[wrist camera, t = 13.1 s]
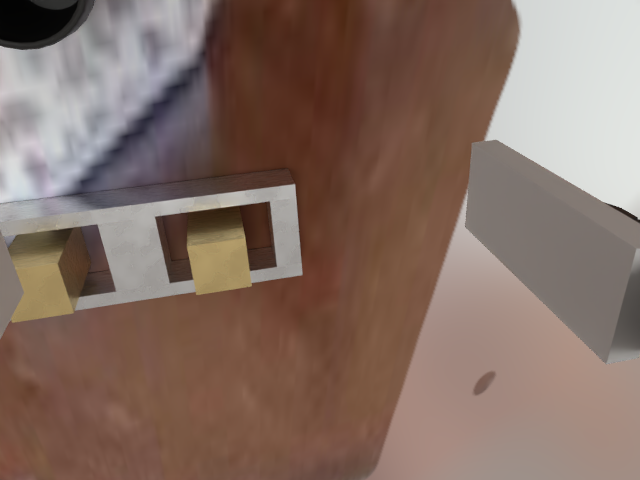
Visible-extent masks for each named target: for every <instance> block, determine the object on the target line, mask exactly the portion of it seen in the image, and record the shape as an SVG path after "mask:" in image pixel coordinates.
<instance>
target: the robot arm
mask: <svg viewBox="0 0 640 480" xmlns="http://www.w3.org/2000/svg"><path fill="white" fill-rule="evenodd" d="M465 227H466V228H467V229H468V230H469V231H470V232H471V233H472V234H473V235H474V236H475V237H476V238H477V239H478V240H479V241H480V242H481V243H482V244H483V245H484V246H485V247H486V248H487V249H488V250H489V251H490V252H491V253H492V254H493V255H495V256H496V257H497V258H498V259H499V260H500V261H501V262H502V263H503V264H504V265H505V266H506V267H507V268H508V269H509V270H510V271H511V272H512V273H513V274H514V275H515V276H516V277H517V278H518V279H519V280H520V281H521V282H522V283H523V284H524V285H525V286H526V287H527V288H528V289H529V290H530V291H532V293H534V294H535V295H536V296H537V297H538V298H539V299H540V300H541V301H542V302H543V303H544V304H545V305H546V306H547V307H548V308H549V309H550V310H551V311H552V312H553V313H554V314H555V315H556V316H557V317H558V318H559V319H560V320H561V321H562V322H563V323H564V324H565V325H566V326H568V328H570V329H571V330H572V331H573V332H574V333H575V334H576V335H577V336H578V337H579V338H580V339H581V340H582V341H583V342H584V343H585V344H586V345H587V346H588V347H589V348H590V349H591V350H592V351H593V352H594V353H595V354H596V355H597V356H598V357H599V358H600V359H602V361H603V362H605V364H610V363H615V362H620V361H625V360H630V359H635V358H639V355H640V220H638V218H637V217H636V216H634V215H632V214H631V213H629V212H627V211H625V210H623V209H622V208H619V207H616V206H613V205H610V204H607V203H604V202H602V201H600V200H599V199H597V198H595V197H593V196H591V195H590V194H588V193H587V192H585V191H583V190H581V189H580V188H578V187H576V186H575V185H573V184H571V183H569V182H568V181H566V180H564V179H563V178H561V177H559V176H557V175H556V174H554V173H552V172H551V171H549V170H547V169H545V168H544V167H542V166H540V165H538V164H537V163H535V162H534V161H532V160H530V159H528V158H527V157H525V156H523V155H521V154H520V153H518V152H516V151H515V150H513V149H511V148H510V147H508V146H506V145H504V144H503V143H501V142H499V141H497V140H492V141H483V142H475V143H472V152H471V164H470V175H469V187H468V199H467V211H466V223H465ZM23 294H24V291H23V288H22V285H21V283H20V280H19V278H18V275H17V272H16V270H15V267H14V264H13V262H12V259H11V256H10V254H9V251H8V249H7V246H6V243H5V241H4V238H3V235H2V233H1V230H0V339H1V337H2V335H3V333H4V331H5V329H6V327H7V325H8V323H9V321H10V319H11V317H12V315H13V313H14V312H15V310H16V308H17V306H18V304H19V302H20V300H21V298H22V296H23Z"/></svg>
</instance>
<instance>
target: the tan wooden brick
mask: <svg viewBox="0 0 640 480" xmlns="http://www.w3.org/2000/svg"><path fill="white" fill-rule="evenodd" d="M8 251H9V254H10V256H11V259H12V262H13V264H14V267H15V270H16V272H17V275H18V278H19V280H20V283H21V285H22V288H23V291H24V294H23V296H22V298H21V300H20V302H19V304H18V306H17V308H16V310H15V312H14V313H13V315H12V317H11V321H12V323H14V322H20V321H26V320H33V319H39V318H46V317H52V316H58V315H65V314H71V313H74V311H75V308H76V305H77V302H78V300H79V297H80V294H81V291H82V288H83V285H84V282H85V279H86V276H87V273H88V271H89V268H90V265H91V261H90V258H89V254H88V251H87V248H86V244H85V241H84V237H83V234H82V231H81V227H73V228H65V229H57V230H50V231H42V232H35V233H27V234H20V235H17V236H16V237H15V239H14V240H13V242H12V243H11V245H10V246H9V248H8Z"/></svg>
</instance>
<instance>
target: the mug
mask: <svg viewBox="0 0 640 480" xmlns="http://www.w3.org/2000/svg"><path fill="white" fill-rule="evenodd" d="M94 1H95V0H0V46H3V47H7V48H14V49H20V50H27V49H40V48H43V47H46V46H50V45H53V44H55V43H57V42H59V41H60V40H62V39H64V38H65V37H67V36H68V35H70V34H72V33H73V32H75V31H76V30H77V29H78V28H79V27H80V26H81V25H82V24H83V23H84V22H85V21H86V19H87V17H88V15H89V13H90V12H91V10H92V8H93V5H94Z"/></svg>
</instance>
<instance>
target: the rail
mask: <svg viewBox="0 0 640 480" xmlns="http://www.w3.org/2000/svg"><path fill="white" fill-rule="evenodd" d="M261 202H267V211H268V220H269V229H270V238H271V247H265V248H258V249H251V250H247V254H248V262H249V269H250V276H251V283H254V282H261V281H267V280H273V279H280V278H286V277H293V276H299V275H302V264H301V251H300V239H299V227H298V214H297V202H296V190H295V183H294V181H293V179H292V176H291V174H290V172H289V170H288V168H286V169H278V170H270V171H262V172H254V173H246V174H237V175H229V176H221V177H213V178H205V179H197V180H189V181H181V182H173V183H165V184H157V185H148V186H140V187H132V188H124V189H116V190H108V191H100V192H92V193H84V194H76V195H68V196H59V197H51V198H43V199H35V200H27V201H19V202H11V203H3V204H0V230H1V233H2V235H3V237H5V236H12V235H20V234H27V233H35V232H42V231H50V230H57V229H65V228H73V227H80V226H88V225H95V224H98V228H99V231H100V235H101V239H102V242H103V246H104V249H105V253H106V256H107V260H108V263H109V267H110V270H108V271H101V272H94V273H87V276H86V279H85V282H84V285H83V288H82V291H81V294H80V297H79V300H78V302H77V305H76V308H75V310H81V309H88V308H94V307H101V306H107V305H113V304H120V303H126V302H133V301H139V300H145V299H152V298H158V297H165V296H171V295H177V294H184V293H190V292H196V290H195V285H194V280H193V275H192V270H191V265H190V259H183V260H176V261H171V257H170V252H169V248H168V243H167V238H166V234H165V229H164V224H163V220H162V216H163V215H170V214H178V213H186V212H193V211H201V210H208V209H216V208H223V207H231V206H238V205H246V204H253V203H261ZM10 321H11V319H10Z"/></svg>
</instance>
